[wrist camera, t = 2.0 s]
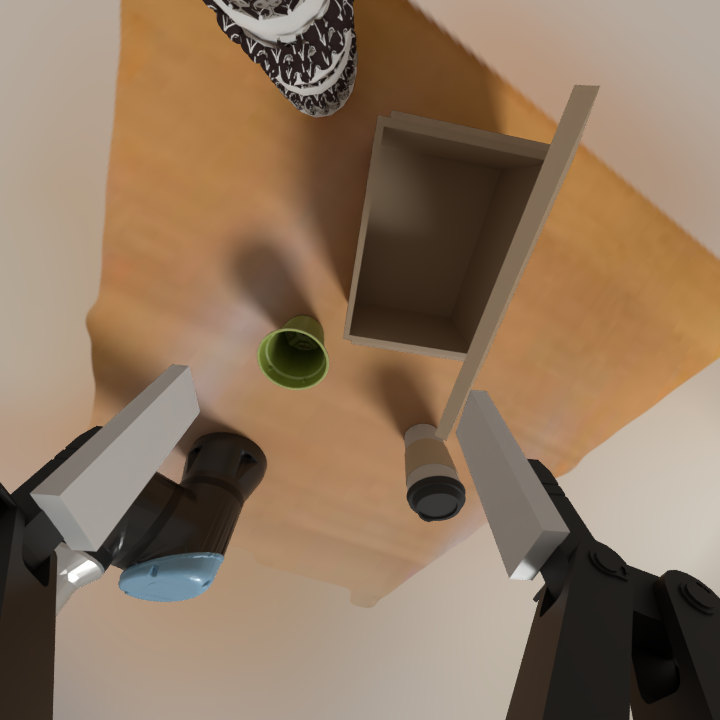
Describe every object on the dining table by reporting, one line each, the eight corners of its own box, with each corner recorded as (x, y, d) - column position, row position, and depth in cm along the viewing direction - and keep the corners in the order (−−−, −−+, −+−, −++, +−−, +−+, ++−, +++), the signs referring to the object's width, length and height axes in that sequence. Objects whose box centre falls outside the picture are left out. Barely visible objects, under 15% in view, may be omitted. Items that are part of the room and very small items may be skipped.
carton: (347, 306, 44) (342, 342, 34) (374, 132, 34) (379, 107, 23) (451, 324, 45) (477, 363, 35) (508, 161, 35) (569, 148, 24)
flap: (434, 435, 22) (446, 441, 21) (574, 85, 12) (600, 85, 12) (476, 358, 34) (484, 361, 34) (561, 157, 25) (573, 158, 24)
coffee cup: (423, 411, 54) (442, 481, 41) (455, 435, 57) (483, 508, 44) (388, 438, 57) (396, 511, 44) (421, 460, 60) (437, 534, 47)
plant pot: (332, 361, 49) (327, 393, 41) (275, 356, 48) (259, 387, 41) (336, 308, 44) (330, 332, 37) (273, 301, 44) (254, 324, 36)
